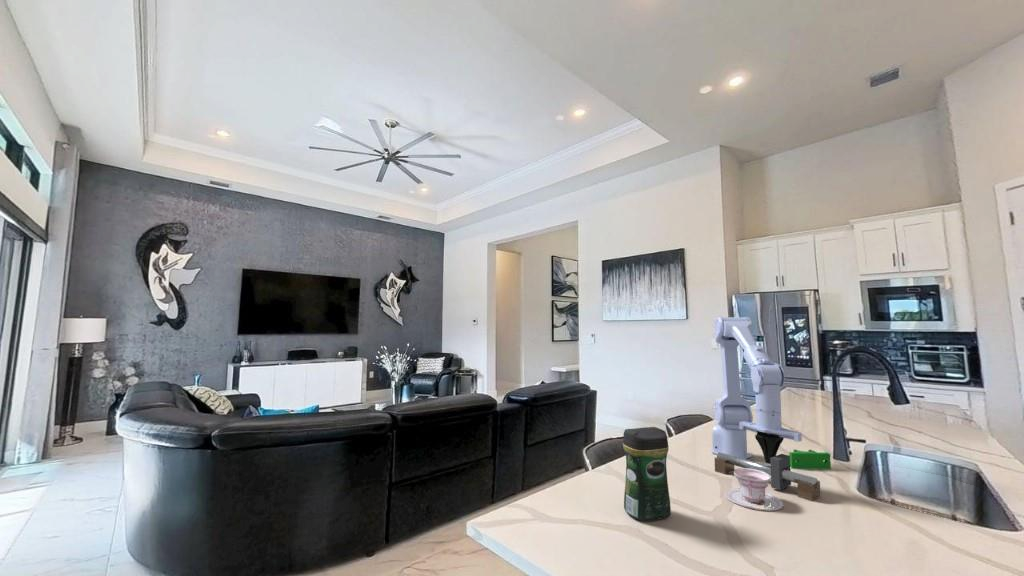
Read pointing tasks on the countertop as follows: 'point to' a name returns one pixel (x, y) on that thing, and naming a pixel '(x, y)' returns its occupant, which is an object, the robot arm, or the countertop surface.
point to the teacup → (753, 490)
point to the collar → (779, 471)
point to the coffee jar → (646, 474)
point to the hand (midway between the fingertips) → (770, 462)
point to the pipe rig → (806, 484)
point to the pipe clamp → (809, 460)
